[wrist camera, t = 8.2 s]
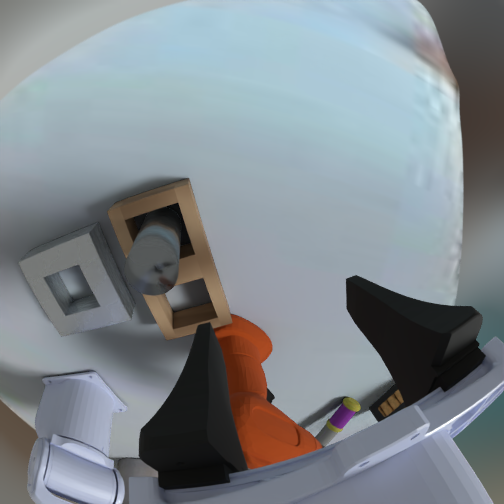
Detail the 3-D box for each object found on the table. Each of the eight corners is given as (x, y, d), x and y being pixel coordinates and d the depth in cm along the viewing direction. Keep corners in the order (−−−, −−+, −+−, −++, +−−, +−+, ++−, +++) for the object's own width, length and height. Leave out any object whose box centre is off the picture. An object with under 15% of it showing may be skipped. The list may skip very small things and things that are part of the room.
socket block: (68, 321, 22) (61, 336, 20) (30, 250, 19) (18, 262, 17) (135, 303, 23) (131, 319, 21) (98, 222, 19) (88, 233, 17)
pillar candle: (150, 476, 41) (155, 534, 27) (109, 463, 36) (109, 526, 23) (176, 466, 39) (185, 532, 26) (131, 452, 35) (134, 525, 22)
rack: (228, 306, 25) (232, 322, 23) (167, 323, 25) (166, 340, 22) (189, 177, 20) (188, 183, 18) (115, 202, 19) (107, 211, 17)
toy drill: (304, 402, 33) (337, 496, 19) (192, 329, 27) (182, 464, 13) (333, 382, 32) (378, 475, 18) (226, 298, 26) (239, 437, 12)
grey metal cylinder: (150, 247, 21) (135, 300, 15) (139, 212, 20) (116, 253, 13) (185, 238, 22) (184, 289, 15) (176, 202, 20) (169, 239, 14)
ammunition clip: (373, 408, 42) (401, 455, 32) (368, 407, 42) (396, 456, 31) (414, 370, 40) (449, 415, 29) (410, 368, 39) (446, 415, 28)
